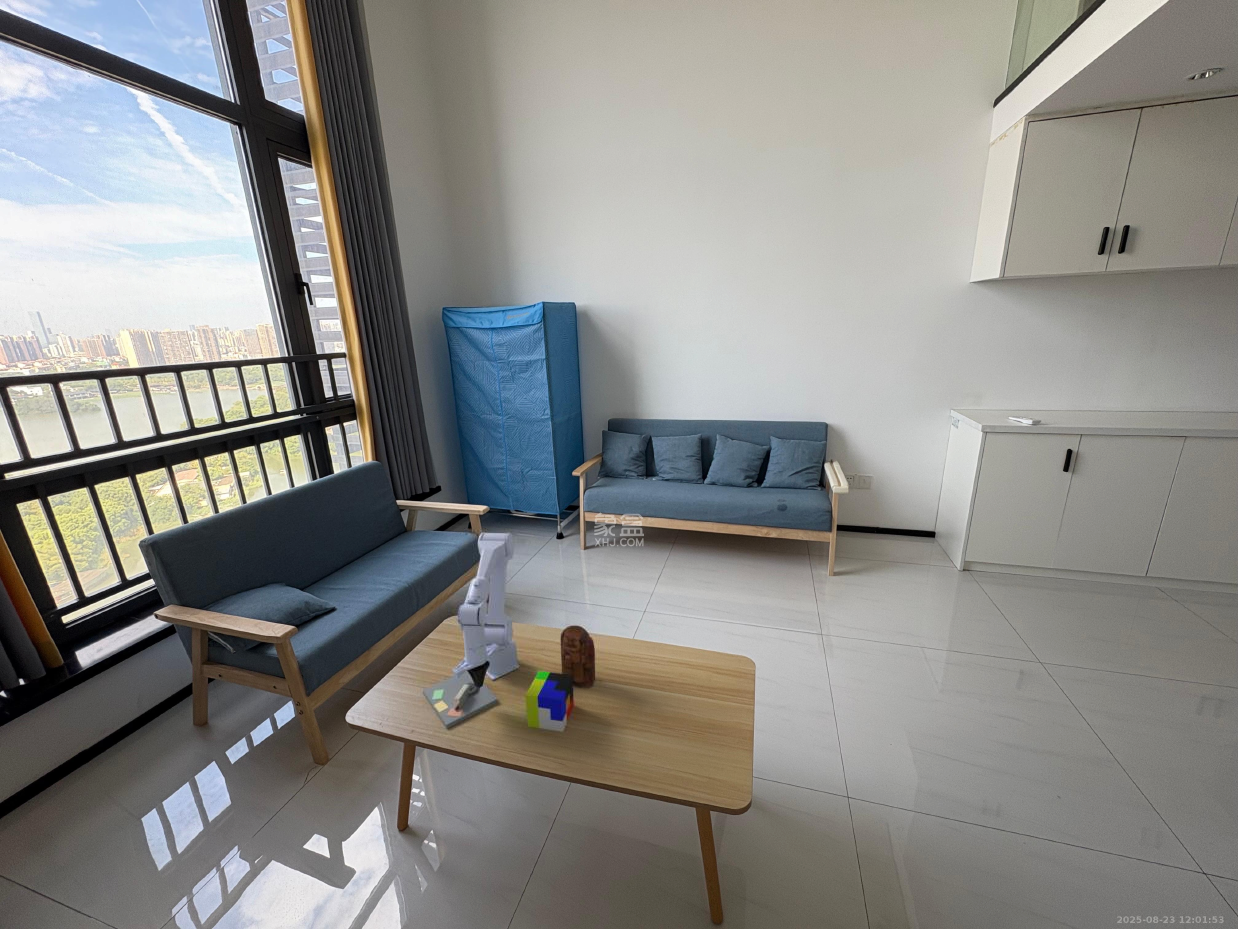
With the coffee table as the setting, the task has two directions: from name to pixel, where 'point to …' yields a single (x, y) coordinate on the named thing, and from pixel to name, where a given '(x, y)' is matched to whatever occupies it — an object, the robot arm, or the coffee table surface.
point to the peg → (464, 694)
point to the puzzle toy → (550, 701)
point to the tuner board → (445, 703)
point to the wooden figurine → (578, 656)
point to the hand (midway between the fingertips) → (478, 685)
